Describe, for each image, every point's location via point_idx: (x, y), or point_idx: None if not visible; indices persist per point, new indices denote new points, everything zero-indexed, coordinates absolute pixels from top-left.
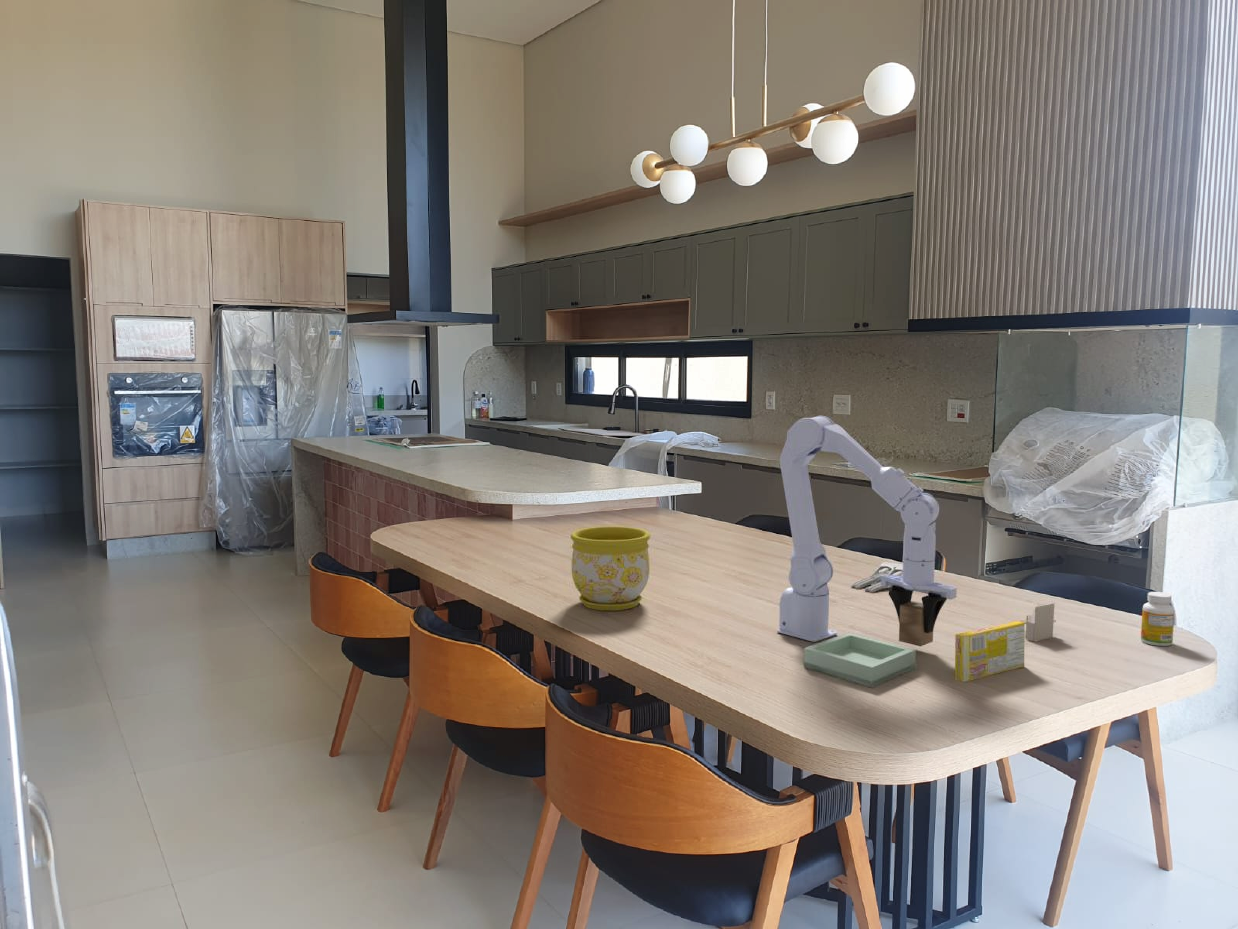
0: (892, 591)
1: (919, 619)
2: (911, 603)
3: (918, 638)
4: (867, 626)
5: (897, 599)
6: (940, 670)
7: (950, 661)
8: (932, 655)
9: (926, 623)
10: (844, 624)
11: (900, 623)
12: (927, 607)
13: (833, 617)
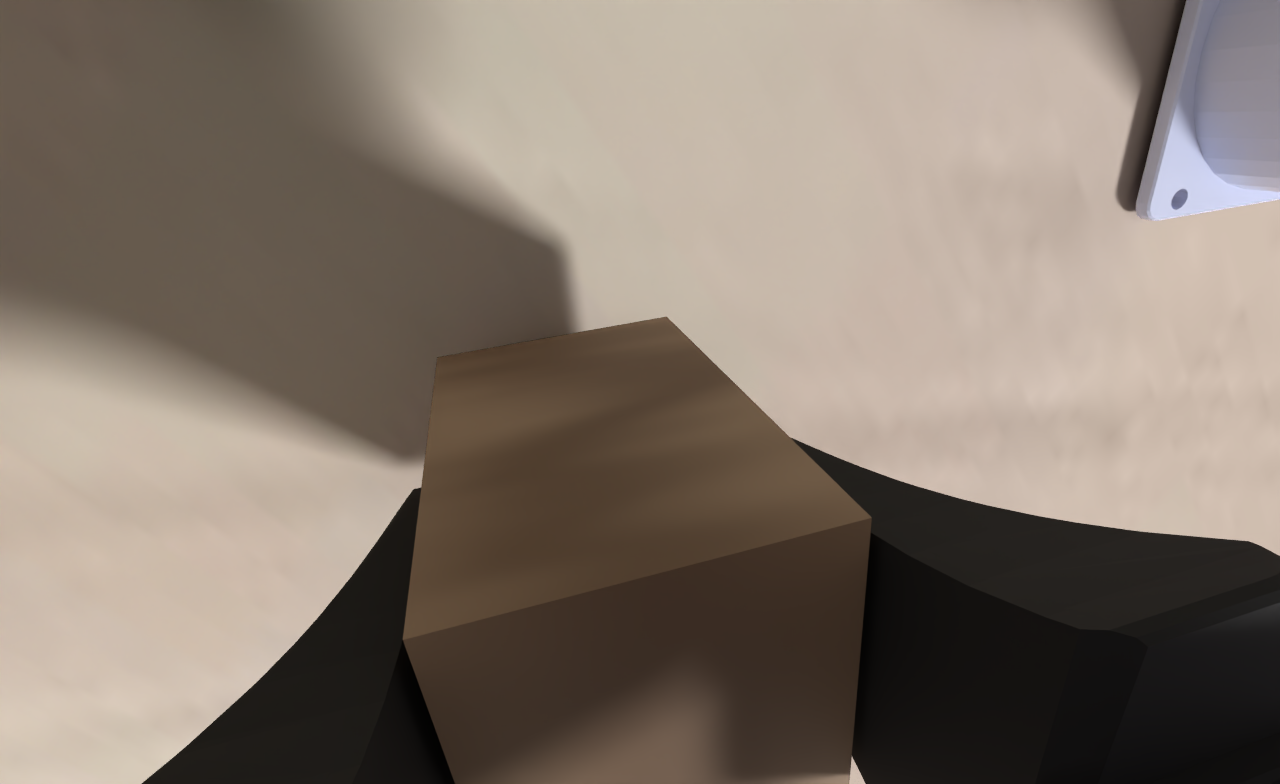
0: (1277, 664)
1: (458, 506)
2: (795, 724)
3: (462, 381)
4: (1036, 512)
5: (1002, 570)
6: (5, 161)
7: (221, 448)
8: (421, 439)
9: (394, 545)
10: (1150, 429)
11: (721, 386)
12: (253, 760)
13: (1229, 468)
